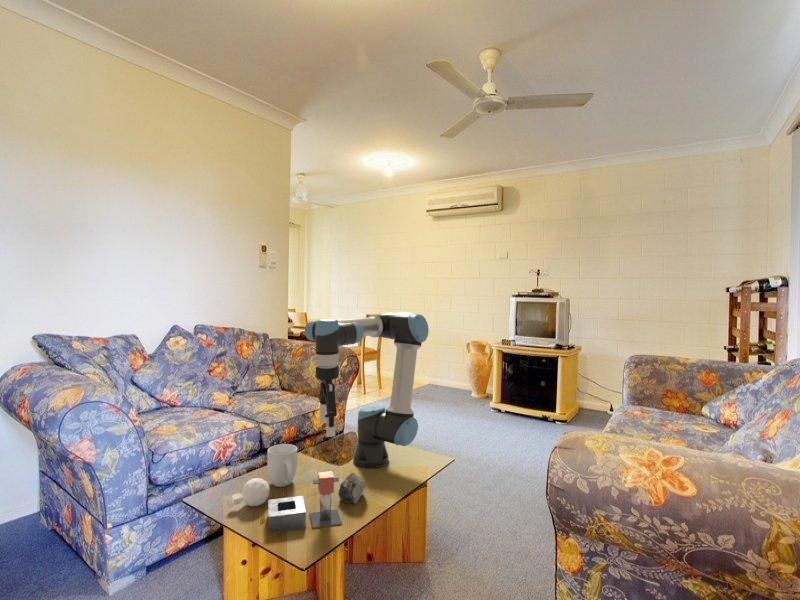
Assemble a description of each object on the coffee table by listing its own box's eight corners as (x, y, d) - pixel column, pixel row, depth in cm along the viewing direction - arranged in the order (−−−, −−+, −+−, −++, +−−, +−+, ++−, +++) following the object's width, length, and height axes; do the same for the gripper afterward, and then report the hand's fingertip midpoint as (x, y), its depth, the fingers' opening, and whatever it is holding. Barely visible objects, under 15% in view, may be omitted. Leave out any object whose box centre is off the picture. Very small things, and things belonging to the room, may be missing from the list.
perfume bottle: (266, 489, 154) (231, 501, 148) (265, 468, 151) (229, 480, 145) (273, 506, 147) (236, 519, 141) (272, 485, 144) (234, 498, 138)
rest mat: (337, 510, 144) (337, 509, 144) (341, 524, 135) (341, 523, 135) (309, 514, 141) (309, 512, 141) (312, 528, 133) (312, 527, 133)
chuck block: (302, 510, 143) (302, 495, 143) (305, 528, 133) (305, 512, 133) (268, 515, 140) (268, 499, 140) (268, 533, 130) (268, 517, 129)
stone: (347, 466, 155) (355, 477, 146) (366, 480, 158) (376, 492, 149) (330, 489, 153) (338, 501, 143) (350, 503, 156) (359, 516, 147)
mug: (305, 489, 158) (305, 454, 158) (275, 497, 152) (275, 460, 152) (291, 474, 171) (291, 441, 170) (263, 480, 165) (263, 447, 164)
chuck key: (336, 512, 141) (337, 470, 141) (339, 519, 137) (339, 476, 137) (312, 516, 139) (312, 473, 139) (313, 523, 135) (314, 479, 135)
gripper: (310, 360, 153) (311, 418, 154) (321, 374, 130) (321, 443, 131) (331, 358, 156) (332, 416, 157) (346, 372, 132) (346, 441, 133)
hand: (327, 429), depth 144 cm, fingers open, 13 cm apart
